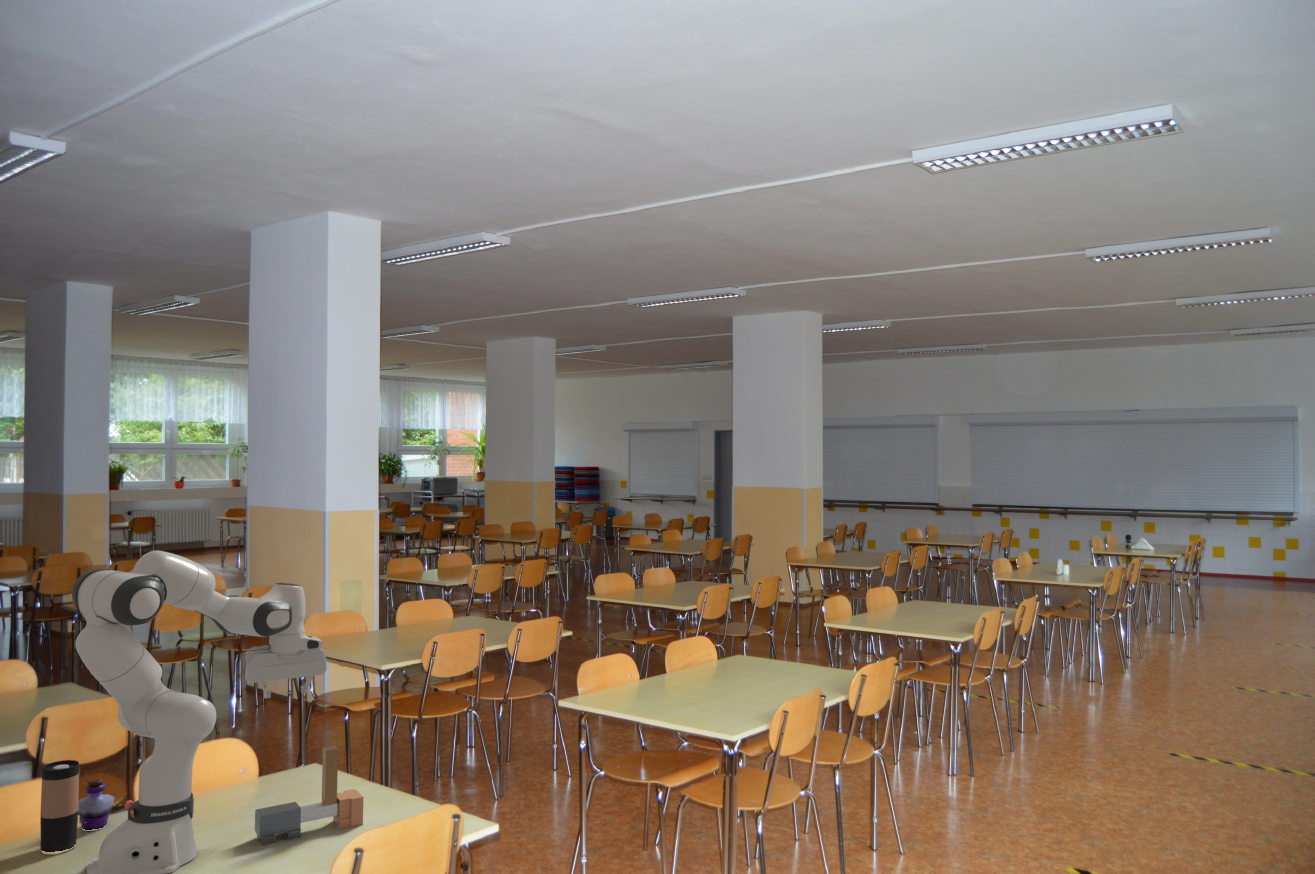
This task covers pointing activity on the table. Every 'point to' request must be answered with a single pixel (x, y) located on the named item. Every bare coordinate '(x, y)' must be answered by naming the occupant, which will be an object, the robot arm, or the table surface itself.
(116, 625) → the robot arm
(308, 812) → the upright mallet
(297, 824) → the sleeve
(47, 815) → the travel mug
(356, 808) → the socket block
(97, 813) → the potion bottle
